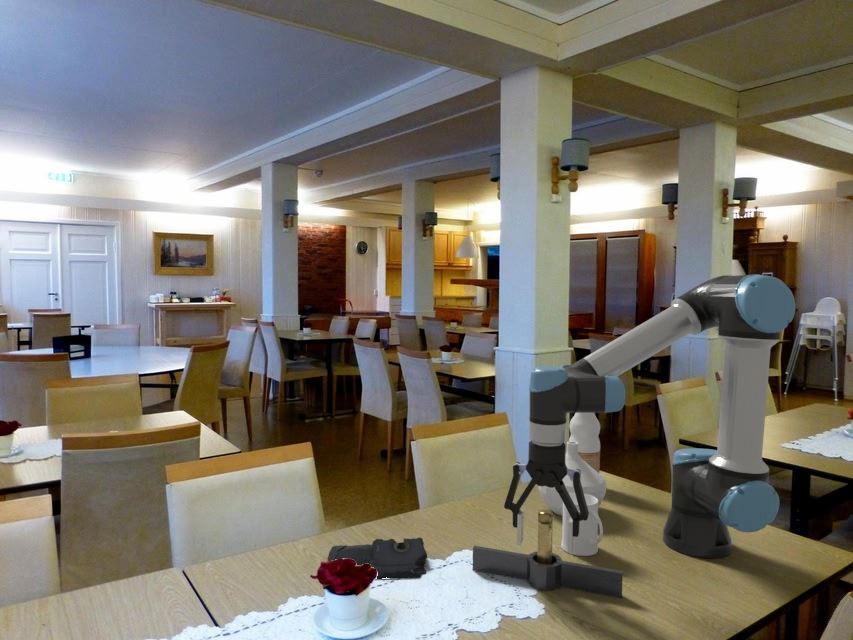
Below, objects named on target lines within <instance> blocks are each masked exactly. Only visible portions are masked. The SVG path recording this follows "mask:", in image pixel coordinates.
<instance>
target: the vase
mask: <svg viewBox="0 0 853 640" xmlns="http://www.w3.org/2000/svg"><path fill="white" fill-rule="evenodd" d="M565 464H566V467H567V469H571V470H576V469H580V470H581V478H580V481H581V485H582V489H583V493H584V494H588V495H591V496H594V497H596V498H597V499H598V508H599V507H600V506H601V504H602V502H603V500H604V498H605V496H606V493H607V482H606V479H605V477H604V475H602V474H600V472H599V473H598V472H597V471H595V470H594V469H593V468H592V467H591V466H589V465H588V464H587V463H586V462H585V461H584V460H583V459H581V457H580V456H579V455H578V443H577V442H573V441H569V440H568V441H567V442H566V457H565ZM562 480H563V482H564V484H565V487H566V489H567V491H568V493H569V494H570V493H575V491H574V487H573V481H571V480H570V477H569V476H568V475H566V476H565V477H564V478H563V479H562ZM537 490H538V492H539V494H540V497H541V499H542V501H543V502H544V504H545V505H546V506H547V508H548V509H550V511H552V512H553V513H555V514H556V515H559V516H561V517H563V501H562V499H561V497H560V495H559V493H558V492H557V491H556V489H555V487H553V488H549V487H547V486H538V485H537Z"/></svg>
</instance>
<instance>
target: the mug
mask: <svg viewBox="0 0 853 640" xmlns="http://www.w3.org/2000/svg"><path fill="white" fill-rule="evenodd" d="M569 495H570V497H571V499H572V501H573V503H574V505H575V506H576V508H577V510H578V512H580V510H579V506H578V502H577V498H576V494H575V493H570V494H569ZM584 496H585V500H586V504H587V508H588V512H589V516H588V519H587V520H586V521H585V520H581V521H580V522H579V535H578V537H574V548H573V551H572V554H571V555H574V556H577V557H589V556H594V555H596V554H597V553H598V552H599V547H598V545H599V543H600V542H601V541H602V539H603V535H604V527H603V523H602V520H601V518H600V516H599V507H598V499H597V498H596V497H594V496H591V495H588V494H584ZM570 517H571V516H570V514H569V512H568V510H567V508H566V507H565V505H564V503H563V516H562V526H561V527H562V528H561V529H562V531H561V533H562V535H561V544H560V547H561V549H562V550H563V551H564V552H566V553H567V554H569V553H568V533H569V520H570ZM598 527H599V535H598Z"/></svg>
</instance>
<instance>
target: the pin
mask: <svg viewBox="0 0 853 640" xmlns="http://www.w3.org/2000/svg"><path fill="white" fill-rule="evenodd" d="M553 513H554V512H553V511H552V510H551V509H550V510H549V509H539V510H538V511H537V552H538V554H537V563H539V564H545V565H550V564H552V553H553V530H554V529H553V527H554V526H553V522H554V520H553V515H554V514H553Z"/></svg>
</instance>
